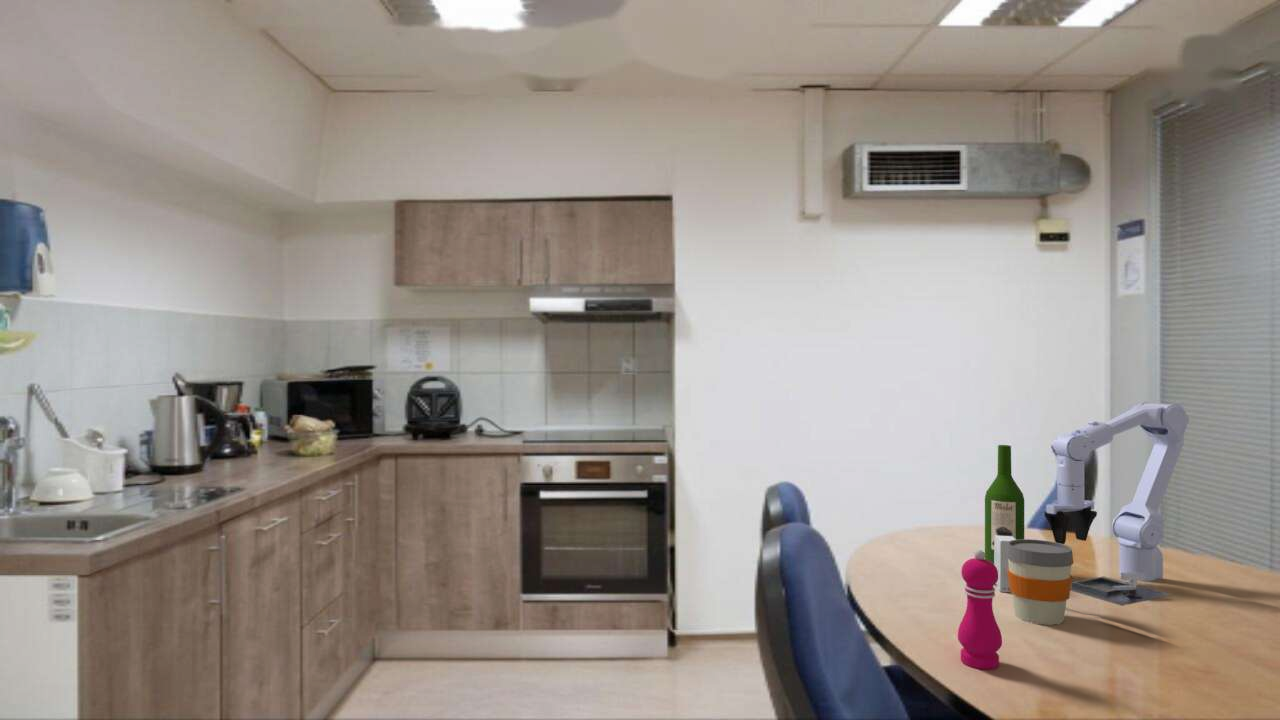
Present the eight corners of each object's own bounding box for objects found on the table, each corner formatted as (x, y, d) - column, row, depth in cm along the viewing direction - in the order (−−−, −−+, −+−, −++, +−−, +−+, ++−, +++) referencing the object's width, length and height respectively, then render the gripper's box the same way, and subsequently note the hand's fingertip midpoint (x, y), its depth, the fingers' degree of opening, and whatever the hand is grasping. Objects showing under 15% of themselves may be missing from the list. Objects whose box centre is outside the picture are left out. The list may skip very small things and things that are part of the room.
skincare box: (1019, 593, 176) (1020, 541, 176) (1000, 592, 177) (1000, 540, 177) (1012, 585, 182) (1012, 535, 182) (993, 584, 183) (993, 534, 183)
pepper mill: (950, 655, 139) (950, 545, 139) (988, 654, 139) (988, 544, 139) (970, 671, 132) (970, 555, 132) (1010, 670, 132) (1010, 554, 132)
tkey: (1111, 593, 171) (1111, 572, 171) (1140, 592, 172) (1140, 571, 172) (1116, 595, 169) (1116, 574, 169) (1145, 594, 170) (1145, 573, 170)
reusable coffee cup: (1047, 632, 151) (1047, 556, 151) (992, 613, 162) (992, 542, 162) (1087, 622, 157) (1087, 549, 157) (1031, 604, 168) (1031, 536, 168)
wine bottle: (985, 578, 188) (985, 446, 188) (984, 569, 196) (984, 443, 196) (1026, 582, 185) (1026, 448, 185) (1022, 573, 193) (1022, 444, 193)
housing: (1103, 581, 186) (1103, 573, 186) (1173, 600, 171) (1173, 591, 171) (1053, 590, 178) (1053, 582, 178) (1121, 610, 164) (1121, 601, 164)
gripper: (1075, 480, 190) (1075, 535, 190) (1034, 484, 184) (1034, 540, 184) (1102, 484, 183) (1102, 541, 183) (1062, 488, 177) (1062, 547, 177)
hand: (1070, 541), depth 183 cm, fingers open, 7 cm apart
